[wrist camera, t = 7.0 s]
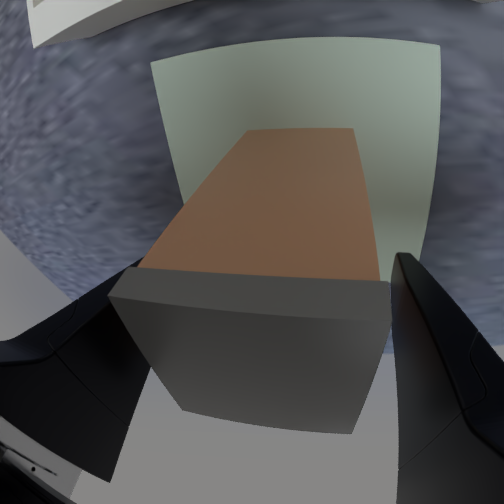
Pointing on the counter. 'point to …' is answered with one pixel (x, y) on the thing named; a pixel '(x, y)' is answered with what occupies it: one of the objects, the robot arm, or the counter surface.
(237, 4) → the counter surface
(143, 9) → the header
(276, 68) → the mat
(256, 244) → the tan rectangular block
